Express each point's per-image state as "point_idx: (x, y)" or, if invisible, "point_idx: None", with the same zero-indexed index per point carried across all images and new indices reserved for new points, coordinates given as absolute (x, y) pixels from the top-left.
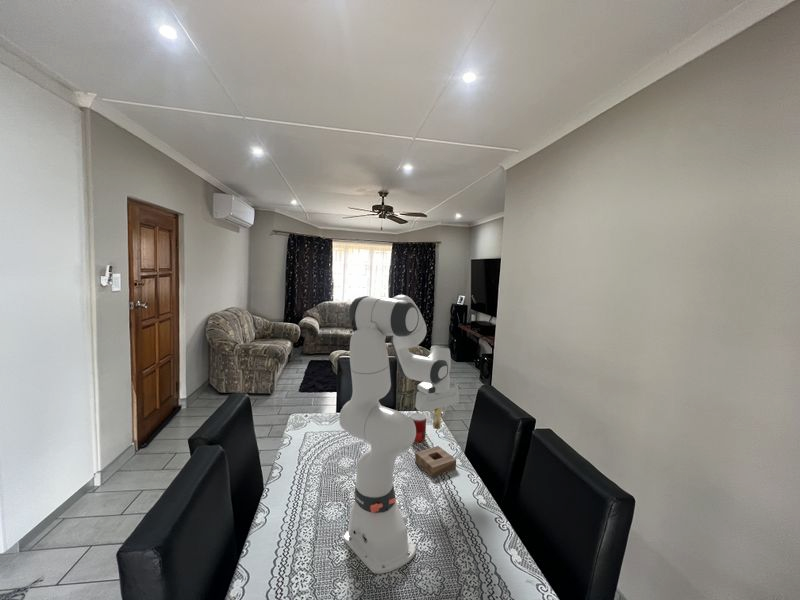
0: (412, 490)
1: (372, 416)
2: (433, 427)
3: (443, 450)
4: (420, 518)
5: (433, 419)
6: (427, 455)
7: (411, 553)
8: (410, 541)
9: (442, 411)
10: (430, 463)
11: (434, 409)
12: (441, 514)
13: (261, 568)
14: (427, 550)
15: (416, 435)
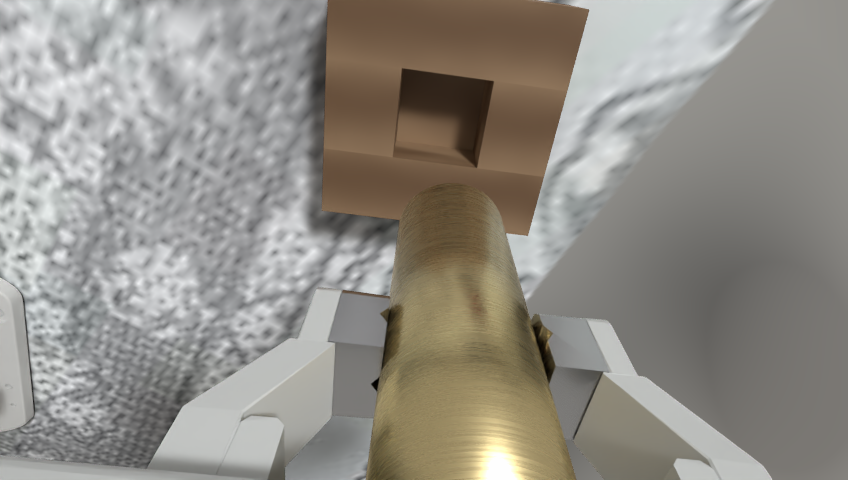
0: (163, 199)
1: None
2: (401, 216)
3: (557, 99)
4: (115, 337)
5: (406, 261)
6: (391, 74)
7: (5, 426)
8: (15, 402)
9: (594, 431)
10: (338, 167)
11: (367, 470)
12: (209, 365)
13: None
14: (76, 426)
15: None
